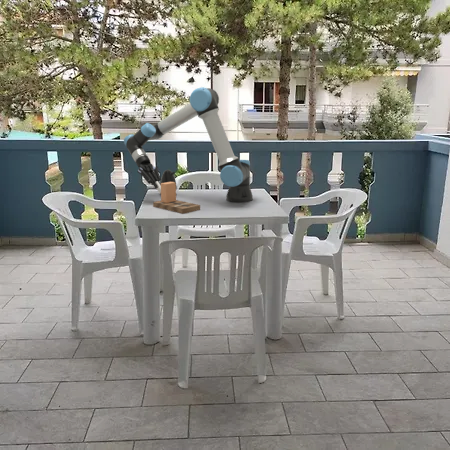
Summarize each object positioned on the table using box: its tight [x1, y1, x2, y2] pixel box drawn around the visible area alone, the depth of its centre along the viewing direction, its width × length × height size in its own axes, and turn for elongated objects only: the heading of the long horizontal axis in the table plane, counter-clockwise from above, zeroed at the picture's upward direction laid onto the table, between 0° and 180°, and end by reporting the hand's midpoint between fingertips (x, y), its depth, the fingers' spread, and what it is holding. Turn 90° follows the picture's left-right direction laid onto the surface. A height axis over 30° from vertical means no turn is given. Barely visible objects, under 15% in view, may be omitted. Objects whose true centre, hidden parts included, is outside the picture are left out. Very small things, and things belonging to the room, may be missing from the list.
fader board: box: [152, 199, 201, 215], centre depth 235 cm, size 24×12×3 cm, turn 47°
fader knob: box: [160, 182, 177, 203], centre depth 237 cm, size 4×7×10 cm, turn 137°
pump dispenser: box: [160, 169, 178, 190], centre depth 268 cm, size 10×10×15 cm
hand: (161, 192), depth 241 cm, fingers closed
